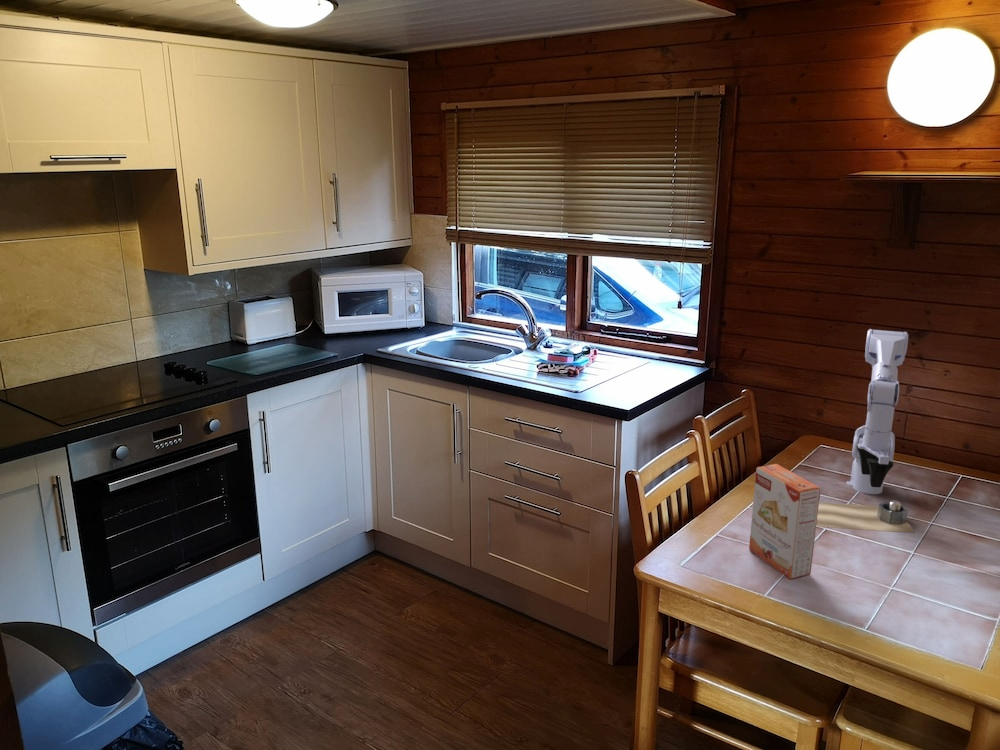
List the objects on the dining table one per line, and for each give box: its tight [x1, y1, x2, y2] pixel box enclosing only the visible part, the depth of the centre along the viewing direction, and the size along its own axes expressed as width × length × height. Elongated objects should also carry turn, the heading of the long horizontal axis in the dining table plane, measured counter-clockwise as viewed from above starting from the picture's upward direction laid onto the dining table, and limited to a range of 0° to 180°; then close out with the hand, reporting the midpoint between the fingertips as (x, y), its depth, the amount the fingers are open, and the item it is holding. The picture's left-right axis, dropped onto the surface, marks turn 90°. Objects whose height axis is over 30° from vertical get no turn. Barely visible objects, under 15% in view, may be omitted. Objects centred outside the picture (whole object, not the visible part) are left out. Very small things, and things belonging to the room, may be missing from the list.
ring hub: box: [877, 501, 909, 525], centre depth 190 cm, size 6×6×3 cm
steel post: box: [889, 499, 902, 512], centre depth 189 cm, size 3×2×4 cm
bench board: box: [816, 501, 916, 534], centre depth 192 cm, size 14×22×1 cm, turn 81°
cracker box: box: [748, 463, 822, 580], centre depth 170 cm, size 14×6×21 cm, turn 21°
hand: (870, 480), depth 192 cm, fingers open, 7 cm apart
